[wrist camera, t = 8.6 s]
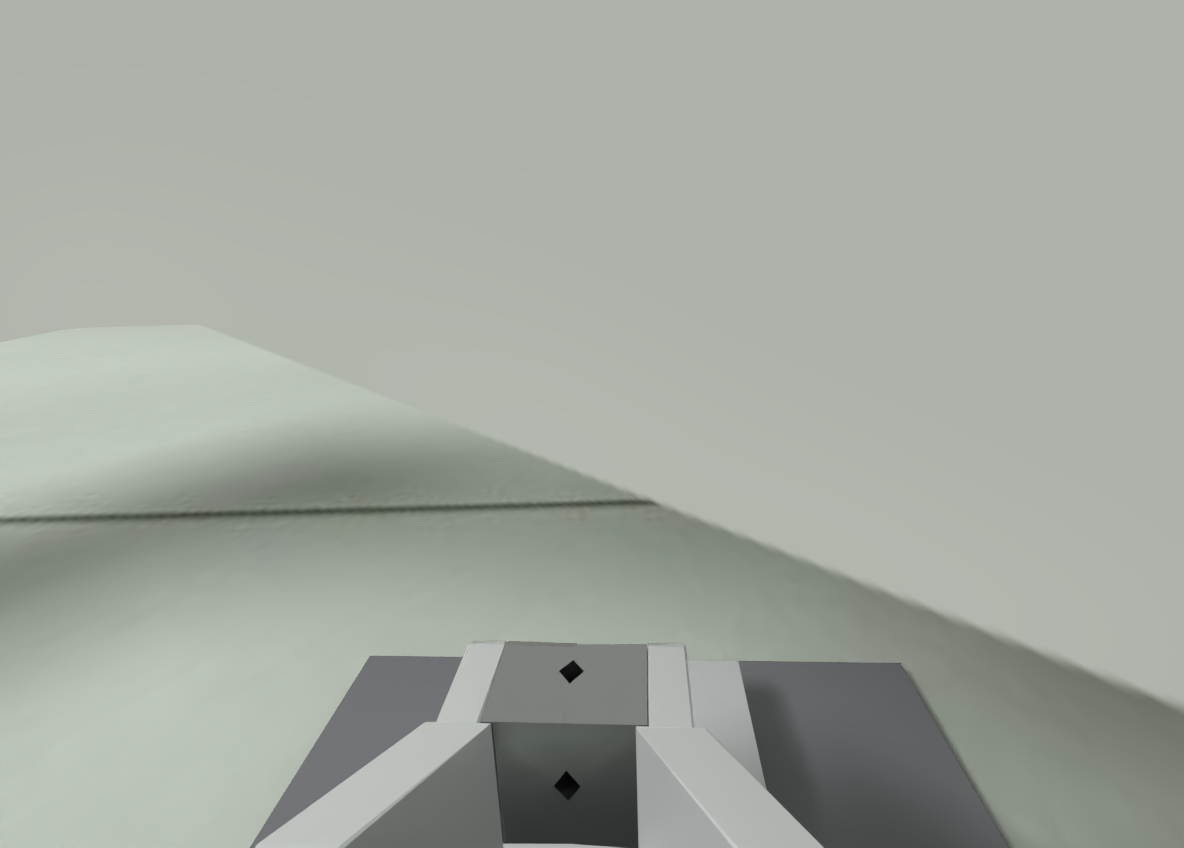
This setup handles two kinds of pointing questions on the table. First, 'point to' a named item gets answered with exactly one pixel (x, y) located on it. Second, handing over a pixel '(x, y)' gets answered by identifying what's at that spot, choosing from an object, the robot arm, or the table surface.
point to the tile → (712, 719)
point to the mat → (783, 736)
